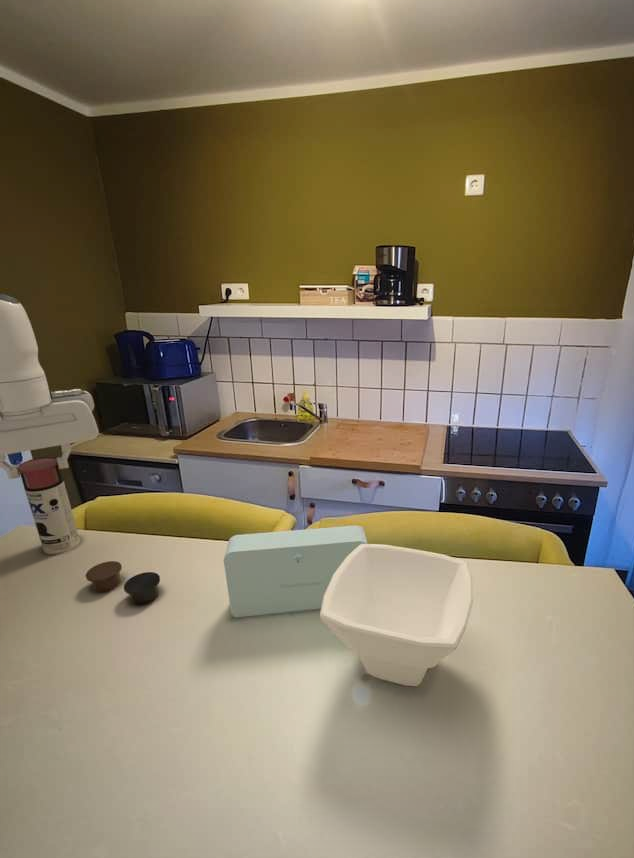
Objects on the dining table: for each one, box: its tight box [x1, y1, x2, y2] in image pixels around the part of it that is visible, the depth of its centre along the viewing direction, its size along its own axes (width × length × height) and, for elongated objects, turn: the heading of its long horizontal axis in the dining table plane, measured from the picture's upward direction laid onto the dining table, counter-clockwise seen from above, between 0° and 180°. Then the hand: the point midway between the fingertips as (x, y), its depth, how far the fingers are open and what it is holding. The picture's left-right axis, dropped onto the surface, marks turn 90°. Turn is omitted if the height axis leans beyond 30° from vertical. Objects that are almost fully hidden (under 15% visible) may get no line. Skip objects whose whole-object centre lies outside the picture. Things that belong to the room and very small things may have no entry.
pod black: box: [123, 571, 161, 606], centre depth 76 cm, size 6×6×4 cm
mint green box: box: [223, 524, 369, 618], centre depth 73 cm, size 23×6×13 cm, turn 98°
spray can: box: [18, 456, 81, 555], centre depth 90 cm, size 7×7×20 cm
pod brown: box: [85, 560, 123, 593], centre depth 80 cm, size 6×6×4 cm
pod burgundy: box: [18, 459, 58, 489], centre depth 76 cm, size 6×6×4 cm
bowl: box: [319, 543, 474, 687], centre depth 61 cm, size 19×19×14 cm
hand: (39, 472), depth 75 cm, fingers closed on pod burgundy, 6 cm apart
